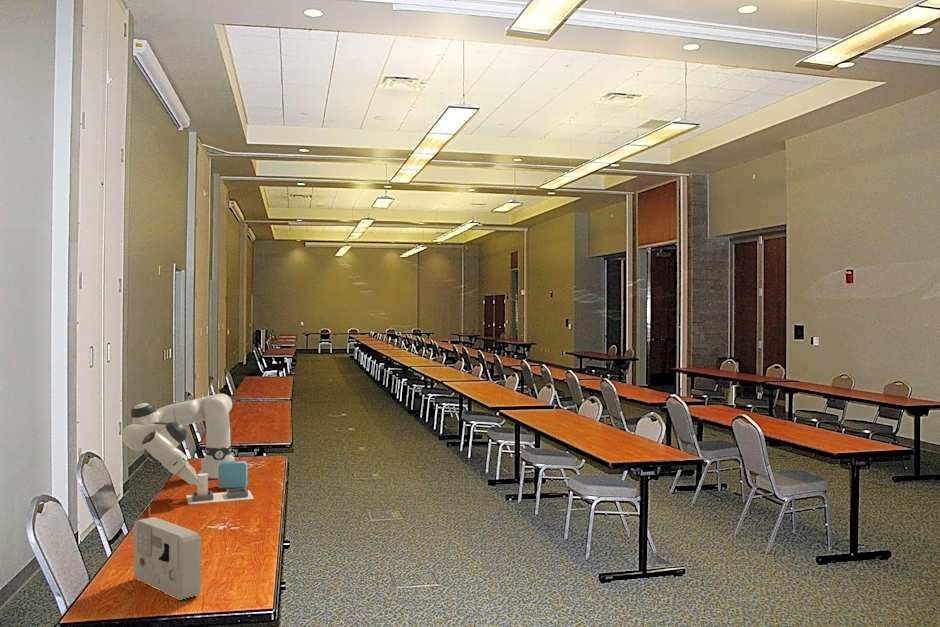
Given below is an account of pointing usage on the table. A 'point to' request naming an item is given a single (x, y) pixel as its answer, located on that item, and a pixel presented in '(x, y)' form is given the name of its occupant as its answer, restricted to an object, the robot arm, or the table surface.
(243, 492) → the dock
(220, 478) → the data package
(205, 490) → the plug block
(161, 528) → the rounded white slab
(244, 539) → the table surface
